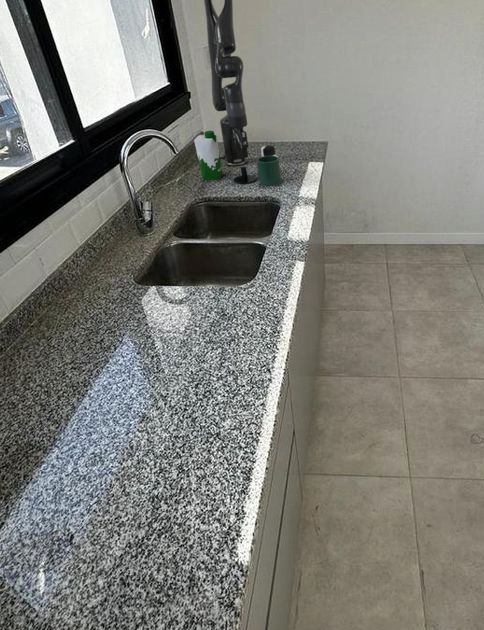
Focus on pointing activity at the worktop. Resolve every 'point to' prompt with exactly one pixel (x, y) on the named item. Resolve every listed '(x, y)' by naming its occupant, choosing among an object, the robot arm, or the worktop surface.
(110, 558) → the worktop surface
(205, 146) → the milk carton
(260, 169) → the tin
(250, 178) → the lid
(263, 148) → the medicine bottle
